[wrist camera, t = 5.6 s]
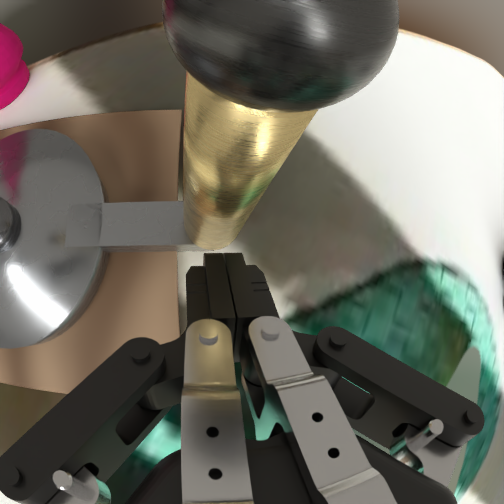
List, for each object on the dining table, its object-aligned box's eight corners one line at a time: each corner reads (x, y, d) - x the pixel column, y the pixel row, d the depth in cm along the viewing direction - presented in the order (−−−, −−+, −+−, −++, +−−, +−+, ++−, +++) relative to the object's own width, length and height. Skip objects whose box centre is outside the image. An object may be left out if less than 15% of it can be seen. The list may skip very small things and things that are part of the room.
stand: (-52, 363, 13) (-65, 365, 11) (-30, 147, 17) (-39, 138, 15) (184, 392, 18) (184, 400, 16) (181, 121, 22) (181, 105, 20)
